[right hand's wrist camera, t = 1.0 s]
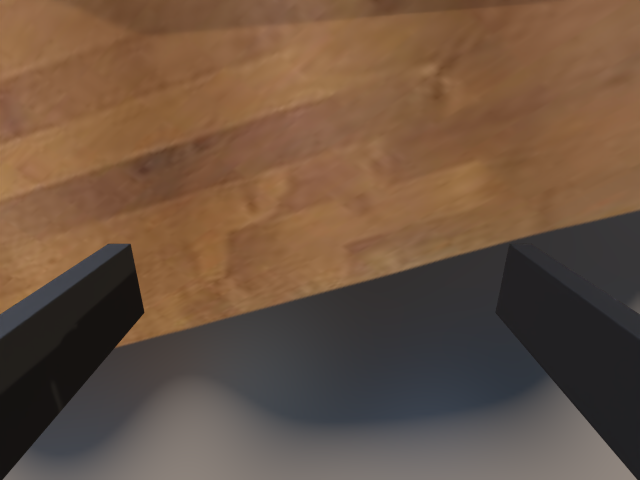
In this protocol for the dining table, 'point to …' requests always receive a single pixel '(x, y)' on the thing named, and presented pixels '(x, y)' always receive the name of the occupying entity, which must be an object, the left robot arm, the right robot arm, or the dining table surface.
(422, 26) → the dining table surface
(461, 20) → the dining table surface
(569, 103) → the dining table surface
